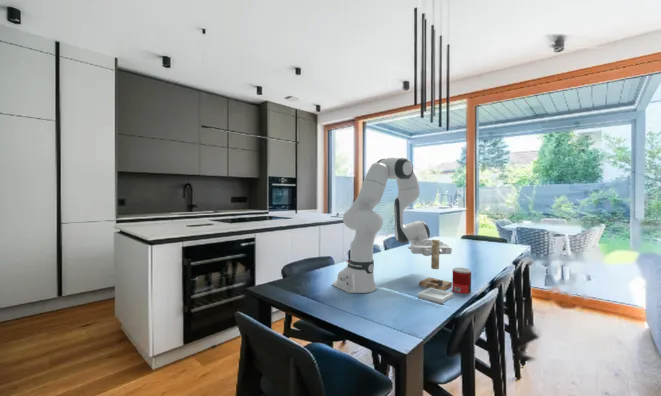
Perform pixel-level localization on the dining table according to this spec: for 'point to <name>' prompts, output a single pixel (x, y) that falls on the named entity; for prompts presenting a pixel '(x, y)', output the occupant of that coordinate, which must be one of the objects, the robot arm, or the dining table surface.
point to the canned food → (462, 280)
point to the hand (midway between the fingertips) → (436, 252)
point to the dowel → (435, 254)
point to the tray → (435, 295)
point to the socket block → (435, 283)
